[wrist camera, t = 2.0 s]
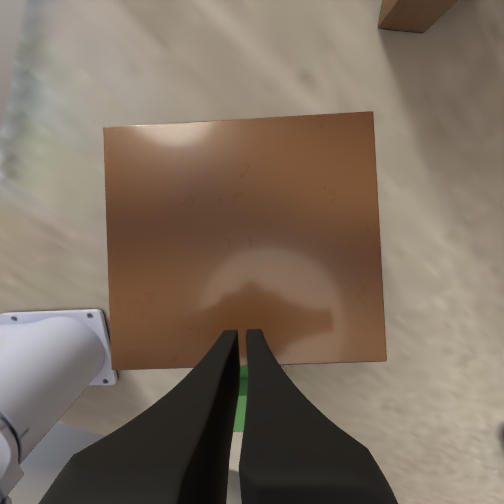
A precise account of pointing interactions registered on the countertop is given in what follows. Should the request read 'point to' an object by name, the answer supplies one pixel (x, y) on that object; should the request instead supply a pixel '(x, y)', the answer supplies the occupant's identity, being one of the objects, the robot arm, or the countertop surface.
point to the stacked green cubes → (241, 400)
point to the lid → (244, 239)
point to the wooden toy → (412, 14)
